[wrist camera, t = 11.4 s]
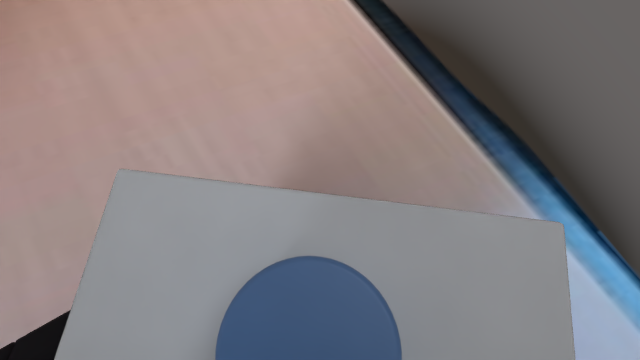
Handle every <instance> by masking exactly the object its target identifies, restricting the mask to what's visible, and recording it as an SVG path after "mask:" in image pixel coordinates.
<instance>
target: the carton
mask: <svg viewBox="0 0 640 360" xmlns="http://www.w3.org/2000/svg"><path fill="white" fill-rule="evenodd" d="M54 360H575V350H574V338H573V327H572V315H571V303H570V291H569V280H568V268H567V256H566V245H565V233H564V226H563V224H562V223H559V222H553V221H545V220H537V219H529V218H520V217H512V216H504V215H496V214H488V213H480V212H471V211H463V210H455V209H447V208H439V207H431V206H422V205H414V204H406V203H398V202H390V201H382V200H373V199H365V198H357V197H349V196H341V195H333V194H324V193H316V192H308V191H300V190H292V189H284V188H276V187H267V186H259V185H251V184H243V183H235V182H227V181H218V180H210V179H202V178H194V177H186V176H178V175H169V174H161V173H153V172H145V171H137V170H129V169H119V170H118V172H117V174H116V177H115V180H114V183H113V186H112V189H111V192H110V195H109V198H108V201H107V204H106V207H105V210H104V213H103V216H102V219H101V222H100V225H99V228H98V231H97V234H96V237H95V240H94V243H93V246H92V249H91V251H90V254H89V257H88V260H87V263H86V266H85V269H84V272H83V275H82V278H81V281H80V284H79V287H78V290H77V293H76V296H75V299H74V302H73V305H72V308H71V311H70V314H69V317H68V320H67V323H66V326H65V329H64V332H63V334H62V337H61V340H60V343H59V346H58V349H57V352H56V355H55V358H54Z"/></svg>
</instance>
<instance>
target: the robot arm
mask: <svg viewBox="0 0 640 360" xmlns="http://www.w3.org/2000/svg"><path fill="white" fill-rule="evenodd" d="M70 311H71V310H70ZM70 311H68V312H66V313H64V314H63V315H61V316H59V317H57V318H55V319H54V320H52V321H50V322H48V323H46V324H45V325H43V326H41V327H39V328H37V329H36V330H34V331H32V332H30V333H28V334H27V335H25V336H23V337H21V338H20V339H18V340H17V341H16V342H12V343H10V344H9V345H7V346H5V347H3V348H1V349H0V360H54V358H55V355H56V352H57V349H58V346H59V343H60V340H61V337H62V334H63V332H64V329H65V326H66V323H67V320H68V317H69V314H70Z"/></svg>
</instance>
